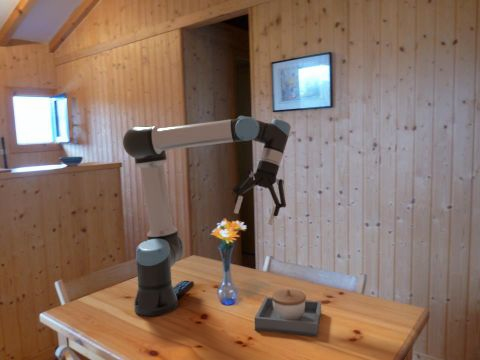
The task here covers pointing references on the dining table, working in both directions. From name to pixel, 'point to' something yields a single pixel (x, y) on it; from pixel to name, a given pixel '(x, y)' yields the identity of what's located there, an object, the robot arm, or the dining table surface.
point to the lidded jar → (289, 303)
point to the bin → (303, 326)
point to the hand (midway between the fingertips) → (252, 218)
